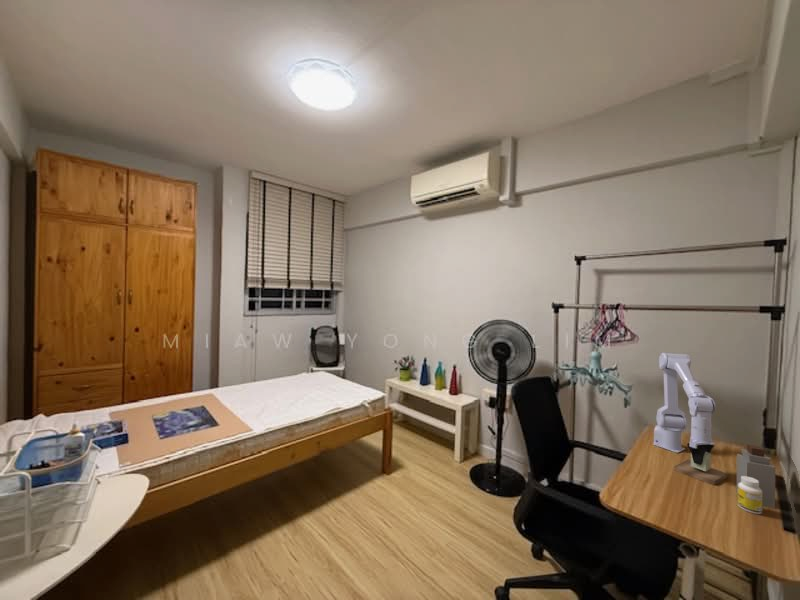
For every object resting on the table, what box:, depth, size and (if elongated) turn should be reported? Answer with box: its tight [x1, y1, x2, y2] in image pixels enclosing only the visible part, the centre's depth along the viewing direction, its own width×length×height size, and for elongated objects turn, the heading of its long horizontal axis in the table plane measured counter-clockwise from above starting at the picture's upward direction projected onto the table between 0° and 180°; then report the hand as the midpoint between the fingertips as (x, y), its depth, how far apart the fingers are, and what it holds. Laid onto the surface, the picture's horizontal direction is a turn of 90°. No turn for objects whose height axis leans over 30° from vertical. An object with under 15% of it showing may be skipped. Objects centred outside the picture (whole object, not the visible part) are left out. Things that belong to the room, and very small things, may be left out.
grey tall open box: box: [736, 443, 776, 509], centre depth 110 cm, size 7×7×18 cm
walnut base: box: [673, 459, 728, 486], centre depth 126 cm, size 12×12×2 cm
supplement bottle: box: [737, 476, 763, 515], centre depth 105 cm, size 5×5×10 cm
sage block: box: [690, 452, 712, 471], centre depth 126 cm, size 4×4×6 cm
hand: (700, 462), depth 126 cm, fingers closed on sage block, 4 cm apart
